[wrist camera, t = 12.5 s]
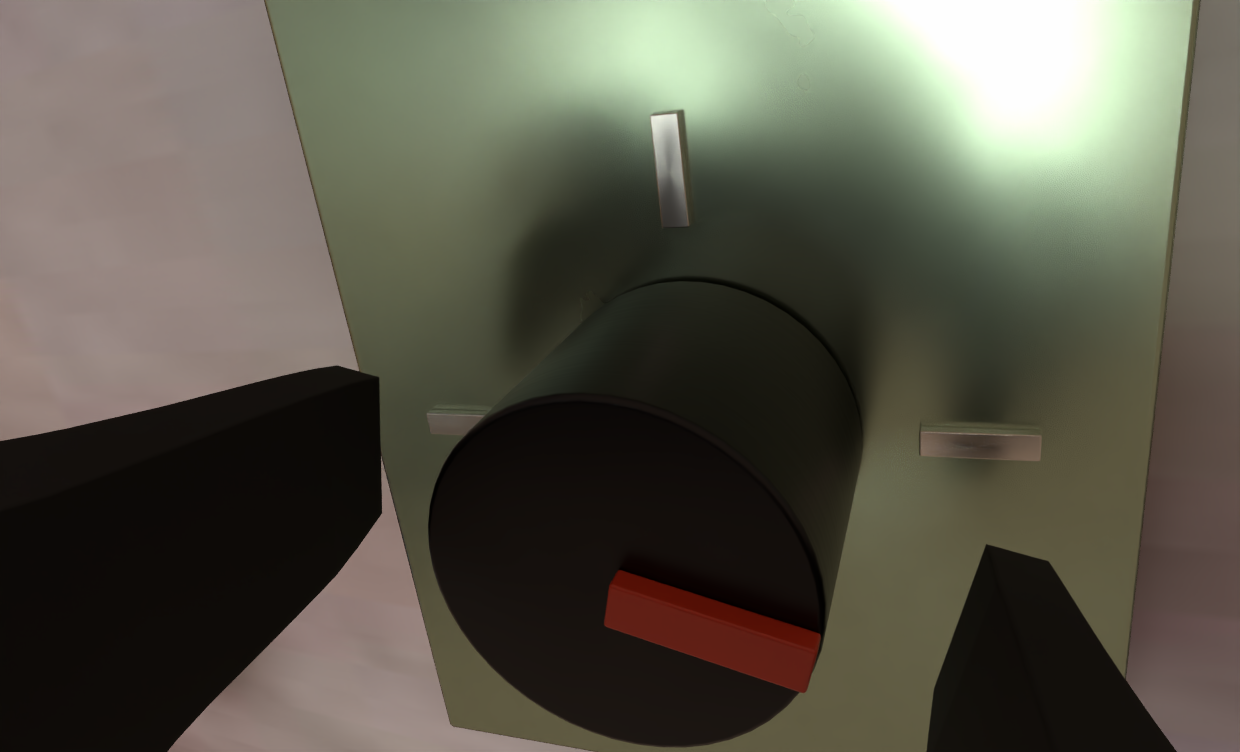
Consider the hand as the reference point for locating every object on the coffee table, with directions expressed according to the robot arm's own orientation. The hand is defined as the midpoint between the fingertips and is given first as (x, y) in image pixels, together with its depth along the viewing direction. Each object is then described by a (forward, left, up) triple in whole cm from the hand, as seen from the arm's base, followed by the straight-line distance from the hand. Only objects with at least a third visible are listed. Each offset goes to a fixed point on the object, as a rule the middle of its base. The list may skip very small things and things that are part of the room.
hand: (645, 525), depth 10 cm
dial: (0, 0, -2) cm, 2 cm away
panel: (0, 0, -6) cm, 6 cm away
